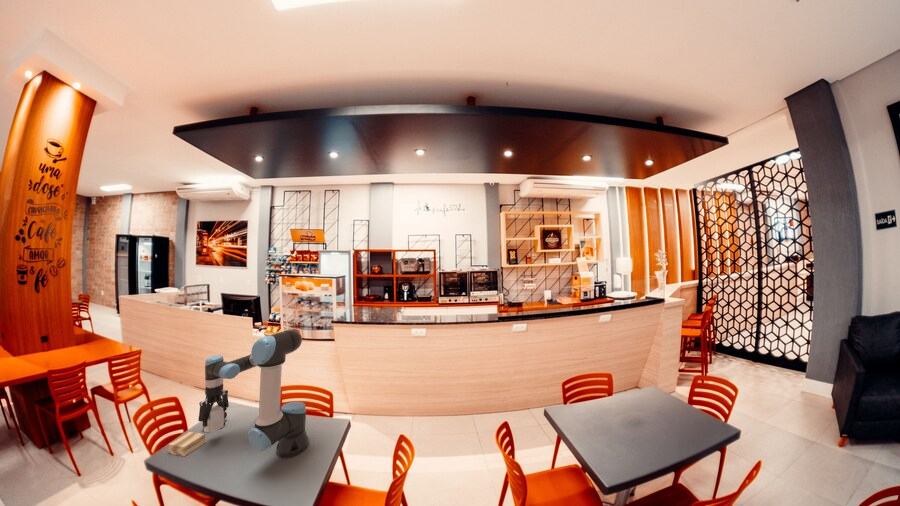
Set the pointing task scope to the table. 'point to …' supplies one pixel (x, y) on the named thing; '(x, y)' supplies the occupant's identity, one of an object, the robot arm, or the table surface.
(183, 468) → the table surface
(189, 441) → the oak block
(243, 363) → the robot arm
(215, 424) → the small box
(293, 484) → the table surface
